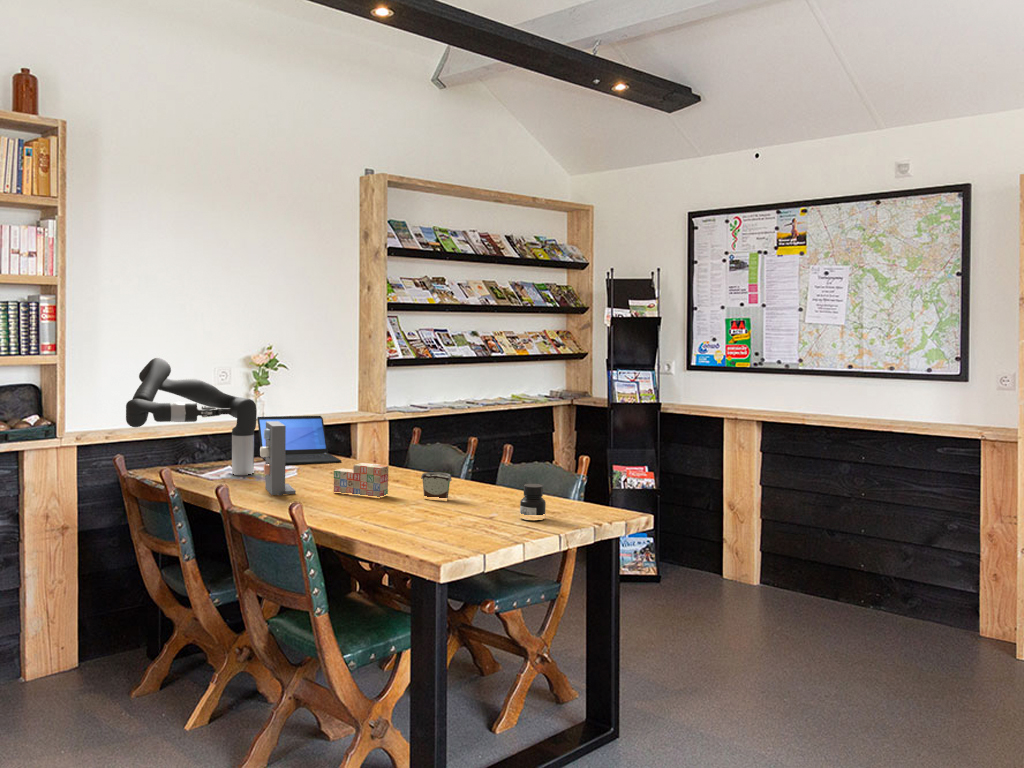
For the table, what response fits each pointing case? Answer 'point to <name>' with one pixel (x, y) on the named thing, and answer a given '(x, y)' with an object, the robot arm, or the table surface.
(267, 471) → the terracotta button
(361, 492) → the stack of blocks
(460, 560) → the table surface
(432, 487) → the food container
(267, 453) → the cream button
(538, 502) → the ink bottle
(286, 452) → the laptop
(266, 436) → the slate button
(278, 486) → the grey upright post stand
